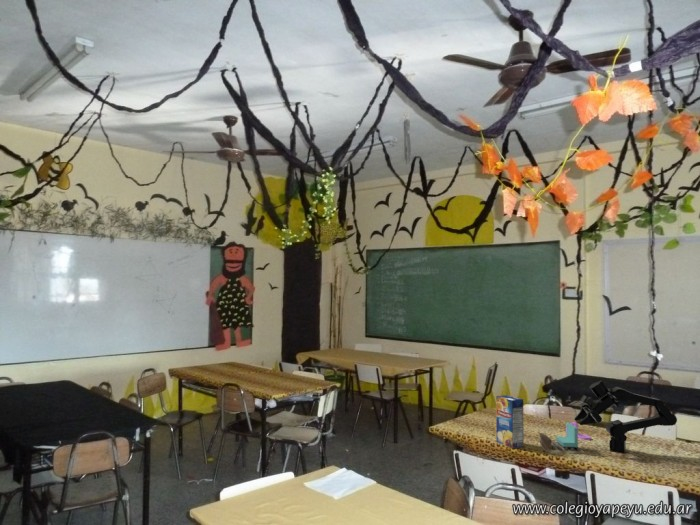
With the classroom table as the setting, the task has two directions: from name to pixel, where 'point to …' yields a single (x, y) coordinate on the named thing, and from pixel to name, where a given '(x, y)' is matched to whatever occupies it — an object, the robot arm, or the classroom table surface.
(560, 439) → the teal l-shaped block
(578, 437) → the bracket
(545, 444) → the roller track
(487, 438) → the classroom table surface
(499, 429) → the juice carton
